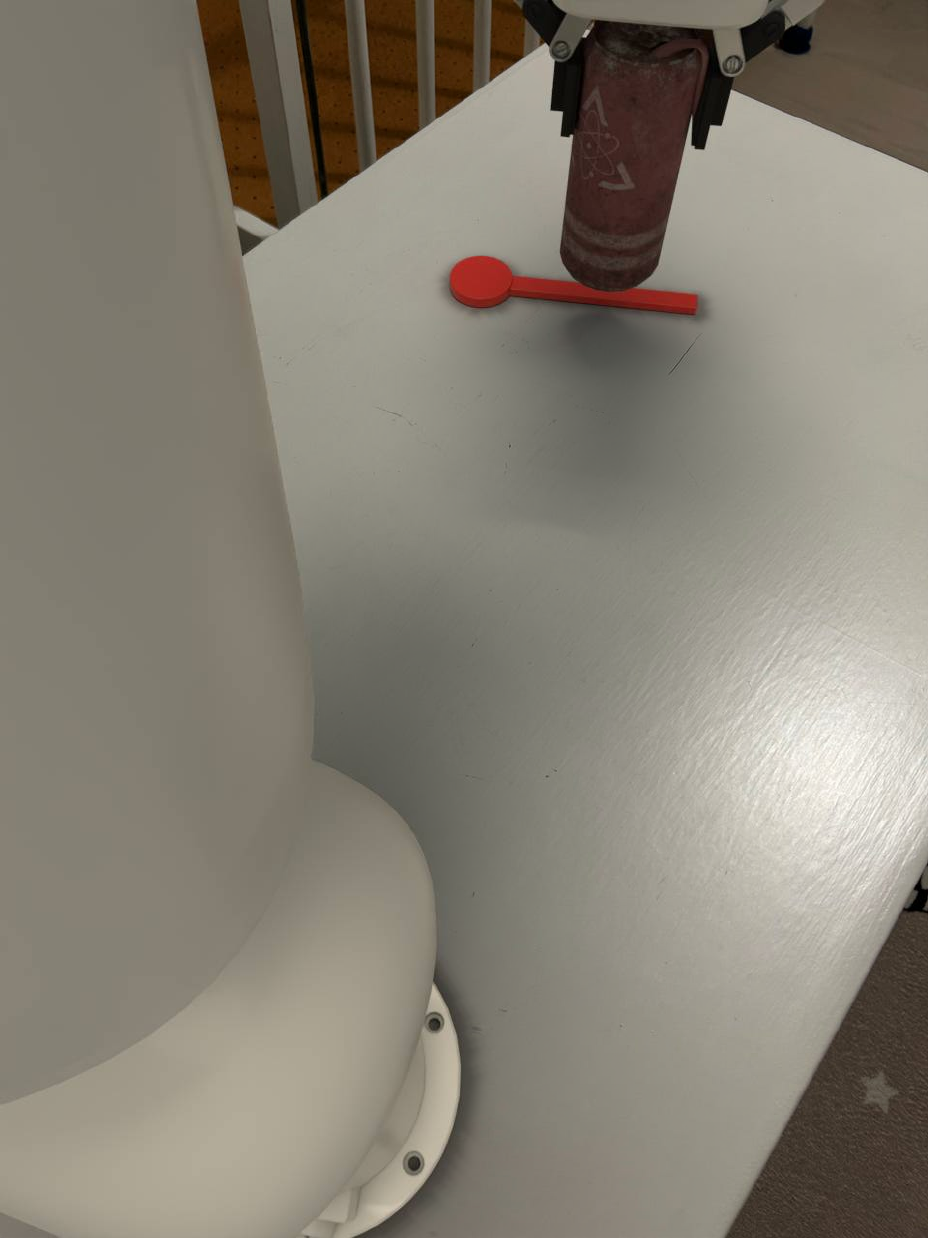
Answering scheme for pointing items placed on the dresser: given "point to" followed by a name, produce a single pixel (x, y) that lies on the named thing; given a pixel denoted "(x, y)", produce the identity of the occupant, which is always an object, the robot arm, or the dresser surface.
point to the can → (628, 148)
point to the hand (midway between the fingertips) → (633, 124)
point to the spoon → (551, 289)
